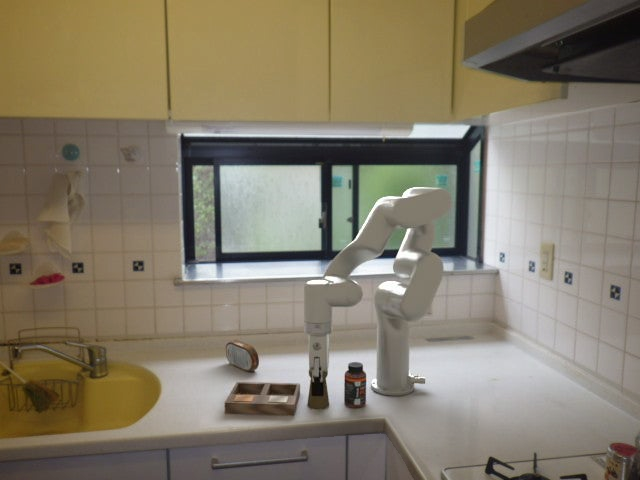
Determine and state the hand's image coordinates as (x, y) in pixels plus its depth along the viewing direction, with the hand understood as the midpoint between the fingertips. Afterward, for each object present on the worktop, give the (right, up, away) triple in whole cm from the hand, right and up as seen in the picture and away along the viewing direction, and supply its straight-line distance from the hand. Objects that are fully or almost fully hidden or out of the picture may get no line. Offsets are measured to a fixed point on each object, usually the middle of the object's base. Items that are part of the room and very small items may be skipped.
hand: (318, 391), depth 141 cm
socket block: (-15, -4, +1) cm, 15 cm away
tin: (-25, -1, +28) cm, 38 cm away
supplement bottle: (+10, -4, +1) cm, 11 cm away
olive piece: (0, -4, 0) cm, 4 cm away
